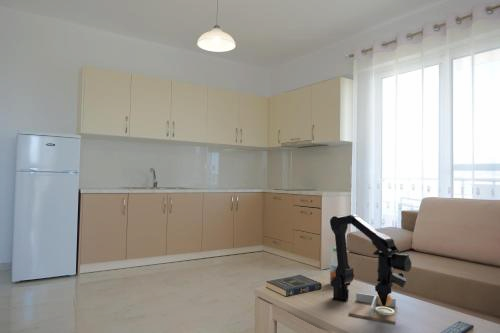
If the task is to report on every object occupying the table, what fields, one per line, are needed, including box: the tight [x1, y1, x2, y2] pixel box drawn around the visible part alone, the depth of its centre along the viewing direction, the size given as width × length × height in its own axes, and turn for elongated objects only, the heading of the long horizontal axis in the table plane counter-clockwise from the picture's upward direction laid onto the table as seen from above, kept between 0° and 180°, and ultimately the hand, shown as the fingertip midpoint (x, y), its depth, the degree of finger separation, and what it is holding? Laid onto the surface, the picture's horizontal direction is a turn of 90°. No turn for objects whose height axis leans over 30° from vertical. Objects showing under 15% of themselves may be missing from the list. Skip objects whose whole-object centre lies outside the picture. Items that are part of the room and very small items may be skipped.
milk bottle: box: [329, 246, 338, 285], centre depth 187 cm, size 8×8×20 cm
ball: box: [377, 294, 393, 306], centre depth 146 cm, size 6×6×6 cm
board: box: [348, 292, 398, 325], centre depth 148 cm, size 18×18×4 cm
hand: (384, 303), depth 146 cm, fingers closed on ball, 5 cm apart
